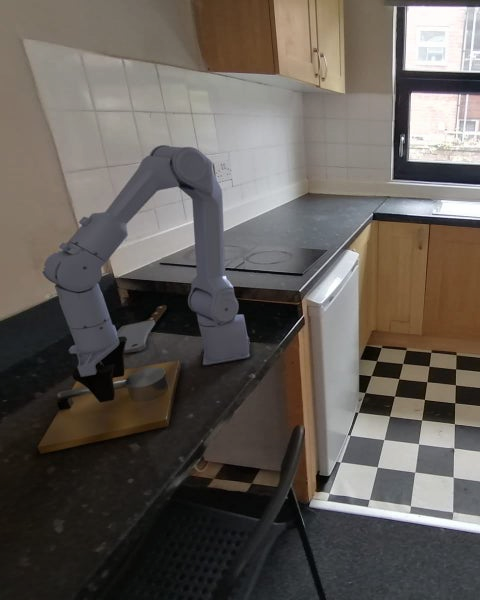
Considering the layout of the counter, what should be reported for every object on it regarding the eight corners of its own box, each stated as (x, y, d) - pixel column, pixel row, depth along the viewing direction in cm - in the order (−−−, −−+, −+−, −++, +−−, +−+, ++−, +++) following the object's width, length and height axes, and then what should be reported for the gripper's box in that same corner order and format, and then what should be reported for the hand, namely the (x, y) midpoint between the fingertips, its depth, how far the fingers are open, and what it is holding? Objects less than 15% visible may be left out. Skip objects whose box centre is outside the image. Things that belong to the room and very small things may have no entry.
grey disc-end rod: (170, 378, 80) (167, 364, 78) (166, 397, 74) (162, 382, 73) (67, 397, 74) (61, 382, 73) (54, 419, 69) (48, 404, 67)
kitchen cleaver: (136, 308, 111) (174, 303, 113) (137, 311, 112) (175, 306, 113) (92, 354, 89) (141, 348, 91) (94, 358, 90) (142, 352, 91)
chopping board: (180, 366, 86) (179, 360, 86) (168, 426, 69) (166, 419, 69) (81, 383, 80) (78, 377, 80) (40, 454, 63) (37, 446, 63)
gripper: (75, 307, 73) (98, 370, 78) (43, 346, 60) (73, 417, 66) (120, 302, 75) (139, 363, 80) (98, 338, 63) (123, 408, 68)
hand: (112, 387), depth 73 cm, fingers open, 7 cm apart
